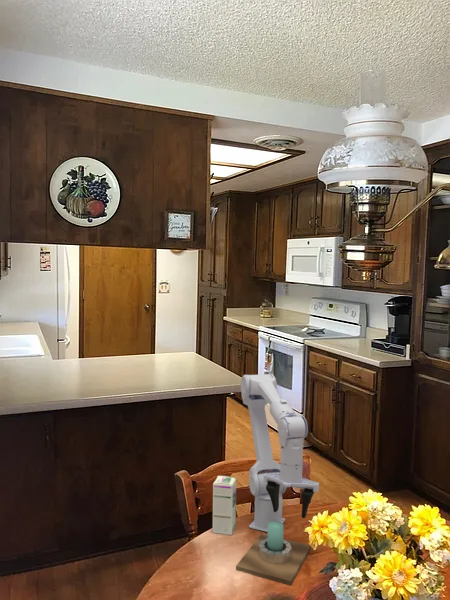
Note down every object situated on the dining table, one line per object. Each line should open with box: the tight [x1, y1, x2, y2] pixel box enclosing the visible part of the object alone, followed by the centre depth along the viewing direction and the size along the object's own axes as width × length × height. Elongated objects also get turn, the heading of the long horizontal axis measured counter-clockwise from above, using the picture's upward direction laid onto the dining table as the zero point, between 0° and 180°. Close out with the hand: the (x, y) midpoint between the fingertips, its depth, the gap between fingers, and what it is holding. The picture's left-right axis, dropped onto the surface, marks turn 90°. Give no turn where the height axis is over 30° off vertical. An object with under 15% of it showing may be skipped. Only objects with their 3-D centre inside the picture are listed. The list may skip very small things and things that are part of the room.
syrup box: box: [212, 475, 237, 536], centre depth 146 cm, size 6×6×14 cm
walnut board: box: [235, 533, 312, 586], centre depth 132 cm, size 18×14×1 cm
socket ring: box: [259, 539, 292, 564], centre depth 132 cm, size 8×8×2 cm
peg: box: [267, 521, 285, 552], centre depth 132 cm, size 4×4×8 cm
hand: (289, 513), depth 135 cm, fingers open, 7 cm apart
